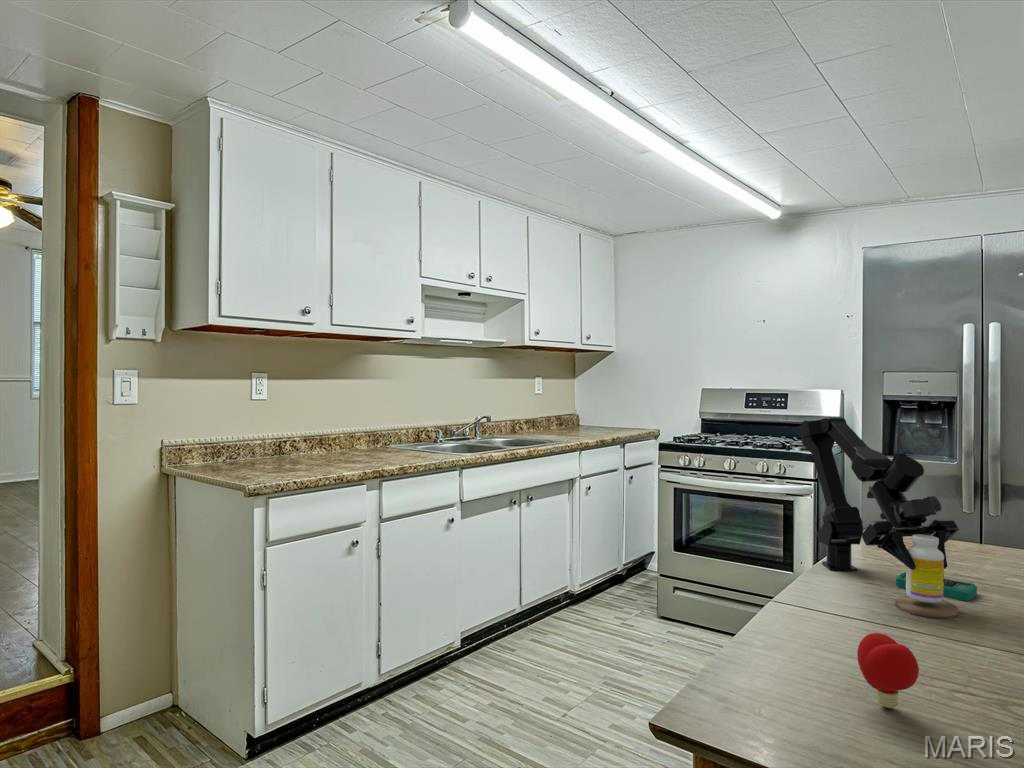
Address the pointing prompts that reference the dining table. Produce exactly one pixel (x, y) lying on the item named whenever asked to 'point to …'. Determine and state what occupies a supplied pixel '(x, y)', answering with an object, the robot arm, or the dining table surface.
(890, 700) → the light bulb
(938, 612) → the coaster
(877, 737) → the dining table surface
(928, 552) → the supplement bottle
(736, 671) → the dining table surface
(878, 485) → the robot arm
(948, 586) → the digital multimeter
